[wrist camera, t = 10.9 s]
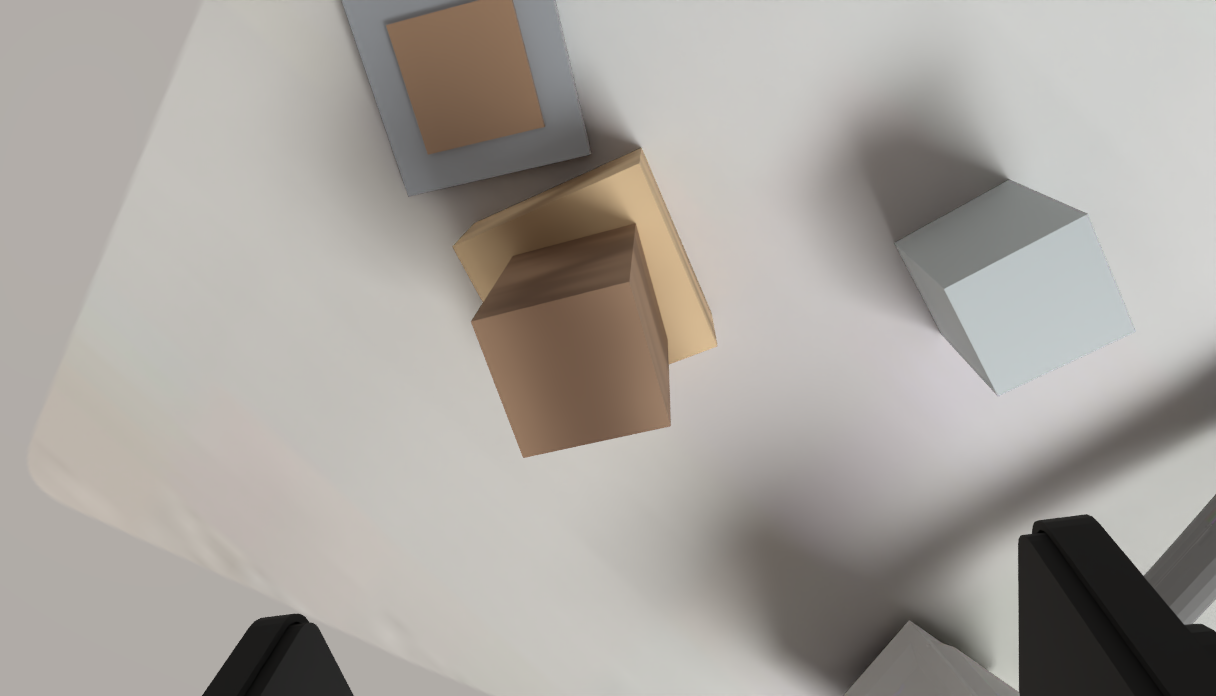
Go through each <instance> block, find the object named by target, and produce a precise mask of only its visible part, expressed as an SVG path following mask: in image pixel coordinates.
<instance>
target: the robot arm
mask: <svg viewBox="0 0 1216 696" xmlns="http://www.w3.org/2000/svg"><path fill="white" fill-rule="evenodd" d="M1018 582H1019V694H1020V696H1216V632H1215V631H1214V630H1212V629H1210V628H1208V627H1207V626H1205V625H1203V624H1187V625H1184V624H1183V623H1182V621H1181V620H1180V619H1179V618H1178V617H1177V615H1176V614H1175V613H1174V612H1173V611H1172V609H1171V608H1170V607H1169V606H1168V605H1167V604H1166V602H1165V601H1164V600H1163V599H1162V598H1161V596H1160V595H1159V594H1158V593H1157V592H1156V590H1155V589H1154V588H1153V587H1152V586H1151V584H1150V583H1149V582H1148V581H1147V580H1146V579H1145V577H1144V576H1143V575H1142V574H1141V573H1140V571H1139V570H1138V569H1137V568H1136V567H1135V565H1134V564H1133V563H1132V562H1131V561H1130V559H1129V558H1128V557H1127V556H1126V555H1125V553H1124V552H1123V551H1122V550H1121V549H1120V548H1119V546H1118V545H1117V544H1116V543H1115V542H1114V540H1113V539H1112V538H1111V537H1110V536H1109V534H1108V533H1107V532H1106V531H1105V530H1104V528H1103V527H1102V526H1101V525H1100V524H1099V523H1098V522H1097V521H1096V520H1095V519H1094V518H1093V517H1092V516H1089V515H1087V514H1086V515H1078V516H1070V517H1062V518H1054V519H1046V520H1039V521H1036V522H1035V523H1034V525H1033V529H1032V534H1028V535H1022V536H1020V538H1019V543H1018ZM202 696H353V694H352V692H351V690H350V688H349V686H348V684H347V682H346V680H345V678H344V676H343V674H342V672H341V670H340V668H339V666H338V665H337V663H336V661H335V659H334V657H333V655H332V653H331V651H330V649H329V647H328V645H327V644H326V641H325V640H324V638H323V636H322V634H321V632H320V630H319V628H318V627H317V626H316V625H315V624H314V623H309V621H308V620H307V619H306V617H305V616H303V615H301V614H289V615H282V616H274V617H265V618H260V619H258V620H256V621H255V622H254V623H253V624H252V625H251V626H250V627H249V628H248V630H247V631H246V633H245V634H244V636H243V637H242V639H241V640H240V641H239V643H238V644H237V646H236V647H235V649H234V650H233V652H232V653H231V655H230V656H229V658H228V659H227V660H226V662H225V663H224V665H223V666H222V668H221V669H220V671H219V672H218V673H217V675H216V676H215V678H214V679H213V681H212V682H211V683H210V685H209V686H208V688H207V689H206V691H205V692H204V694H203V695H202Z"/></svg>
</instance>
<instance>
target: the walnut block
mask: <svg viewBox="0 0 1216 696" xmlns="http://www.w3.org/2000/svg"><path fill="white" fill-rule="evenodd" d="M471 323H472V326H473V328H474V331H475V333H476V336H477V339H478V341H479V344H480V346H481V349H482V352H483V354H484V357H485V360H486V362H487V365H488V367H489V370H490V373H491V375H492V378H493V380H494V383H495V386H496V388H497V391H498V393H499V396H500V399H501V401H502V404H503V406H504V409H505V412H506V414H507V417H508V419H509V422H510V425H511V427H512V430H513V432H514V435H515V438H516V440H517V443H518V446H519V448H520V451H521V453H522V456H523V458H525V457H530V456H534V455H539V454H544V453H548V452H553V451H558V450H562V449H567V448H572V447H576V446H581V445H585V444H590V443H595V442H599V441H604V440H609V439H613V438H618V437H623V436H627V435H632V434H637V433H641V432H646V431H650V430H655V429H660V428H664V427H669V426H671V419H670V389H669V360H668V339H667V335H666V331H665V328H664V324H663V321H662V317H661V313H660V310H659V306H658V302H657V299H656V295H655V291H654V288H653V284H652V280H651V277H650V273H649V269H648V266H647V262H646V258H645V255H644V251H643V248H642V244H641V240H640V237H639V233H638V229H637V226H636V223H635V224H631V225H627V226H623V227H620V228H616V229H612V230H608V231H604V232H601V233H597V234H593V235H589V236H586V237H582V238H578V239H574V240H570V241H567V242H563V243H559V244H555V245H552V246H548V247H544V248H540V249H537V250H533V251H529V252H525V253H522V254H518V255H514V256H512V258H511V260H510V261H509V263H508V264H507V266H506V267H505V269H504V271H503V272H502V274H501V275H500V277H499V278H498V280H497V282H496V283H495V285H494V286H493V288H492V289H491V291H490V292H489V294H488V296H487V297H486V299H485V300H484V302H483V303H482V305H481V307H480V308H479V310H478V311H477V313H476V314H475V316H474V318H473V319H472V321H471Z"/></svg>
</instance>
